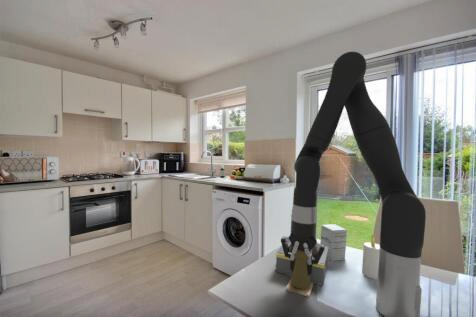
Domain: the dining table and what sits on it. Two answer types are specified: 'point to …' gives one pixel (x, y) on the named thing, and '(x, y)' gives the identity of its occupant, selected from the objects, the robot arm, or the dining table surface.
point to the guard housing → (317, 269)
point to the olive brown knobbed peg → (300, 270)
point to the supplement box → (334, 241)
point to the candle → (371, 259)
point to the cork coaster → (299, 289)
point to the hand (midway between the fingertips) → (300, 272)
